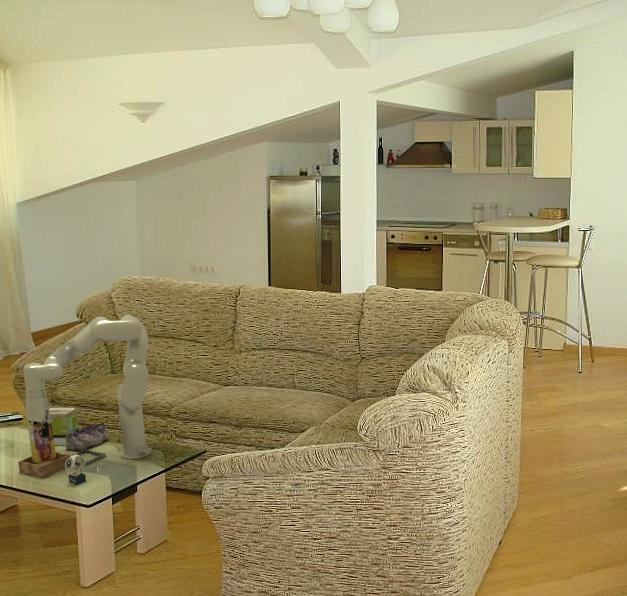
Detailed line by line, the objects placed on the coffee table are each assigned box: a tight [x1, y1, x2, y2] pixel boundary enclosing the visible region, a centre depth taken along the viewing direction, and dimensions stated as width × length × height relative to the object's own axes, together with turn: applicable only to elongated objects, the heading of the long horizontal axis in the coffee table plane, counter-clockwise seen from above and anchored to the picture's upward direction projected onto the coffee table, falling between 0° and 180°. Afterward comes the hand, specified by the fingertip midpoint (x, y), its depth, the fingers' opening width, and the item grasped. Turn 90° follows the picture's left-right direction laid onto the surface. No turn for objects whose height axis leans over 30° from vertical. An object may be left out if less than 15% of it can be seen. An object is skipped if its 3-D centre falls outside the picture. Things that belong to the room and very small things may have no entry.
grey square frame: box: [70, 449, 107, 467], centre depth 397 cm, size 13×13×2 cm
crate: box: [18, 451, 71, 480], centre depth 388 cm, size 15×15×5 cm
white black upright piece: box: [64, 454, 87, 486], centre depth 372 cm, size 6×8×11 cm
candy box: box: [27, 422, 57, 463], centre depth 386 cm, size 9×4×15 cm, turn 137°
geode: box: [65, 422, 109, 452], centre depth 415 cm, size 20×12×10 cm, turn 142°
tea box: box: [38, 407, 80, 446], centre depth 421 cm, size 15×10×15 cm, turn 78°
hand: (41, 435), depth 386 cm, fingers closed on candy box, 4 cm apart
